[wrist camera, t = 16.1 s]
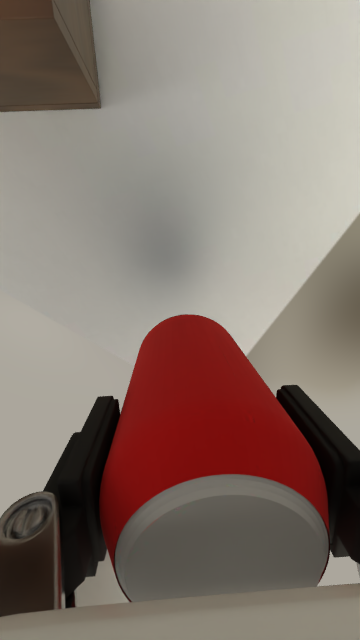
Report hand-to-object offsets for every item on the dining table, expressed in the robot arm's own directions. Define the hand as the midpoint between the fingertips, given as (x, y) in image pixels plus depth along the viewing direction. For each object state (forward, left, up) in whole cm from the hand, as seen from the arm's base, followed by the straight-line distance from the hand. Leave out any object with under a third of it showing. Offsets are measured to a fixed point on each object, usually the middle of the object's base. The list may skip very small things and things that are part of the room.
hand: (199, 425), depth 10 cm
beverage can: (0, 0, -7) cm, 7 cm away
